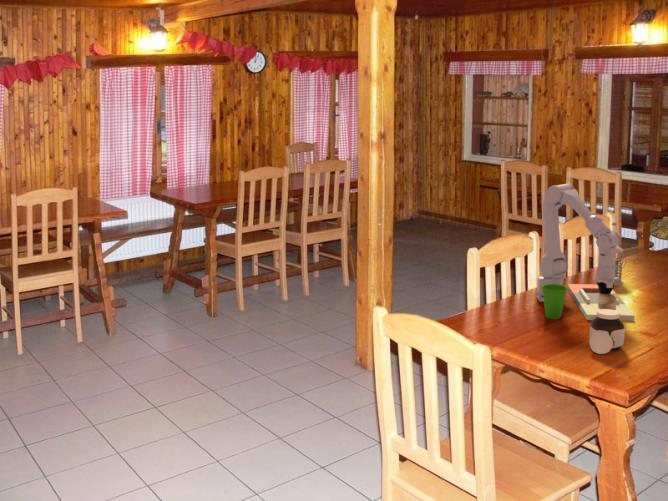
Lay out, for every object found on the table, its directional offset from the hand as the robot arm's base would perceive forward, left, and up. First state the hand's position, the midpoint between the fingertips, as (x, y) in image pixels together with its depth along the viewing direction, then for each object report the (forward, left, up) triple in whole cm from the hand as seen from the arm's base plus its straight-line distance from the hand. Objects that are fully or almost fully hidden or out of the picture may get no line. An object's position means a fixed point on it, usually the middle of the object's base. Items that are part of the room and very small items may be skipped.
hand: (604, 302), depth 300 cm
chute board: (0, +10, -3) cm, 11 cm away
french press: (+12, +43, -4) cm, 45 cm away
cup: (-19, -8, -4) cm, 21 cm away
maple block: (0, -4, -1) cm, 4 cm away
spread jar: (-8, -42, -4) cm, 43 cm away
